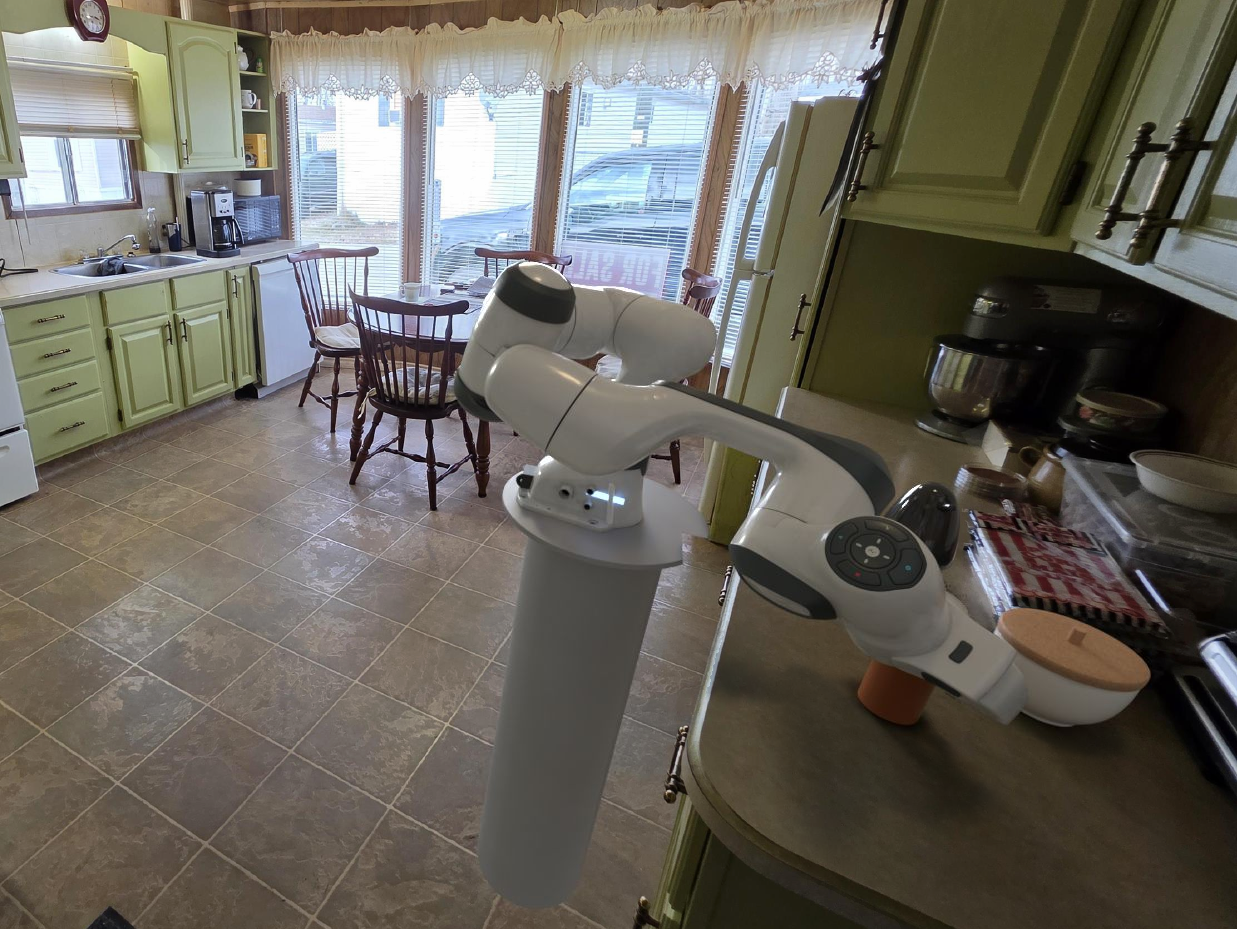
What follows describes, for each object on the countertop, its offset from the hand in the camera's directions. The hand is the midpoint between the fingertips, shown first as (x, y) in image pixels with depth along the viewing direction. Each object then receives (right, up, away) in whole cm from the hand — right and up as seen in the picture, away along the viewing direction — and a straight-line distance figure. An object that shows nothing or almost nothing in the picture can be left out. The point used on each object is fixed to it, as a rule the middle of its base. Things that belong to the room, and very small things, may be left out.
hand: (910, 664), depth 76 cm
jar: (-1, -5, +2) cm, 6 cm away
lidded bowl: (+18, -6, +4) cm, 19 cm away
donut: (+15, +1, +18) cm, 24 cm away
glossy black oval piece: (+21, +5, +28) cm, 35 cm away
